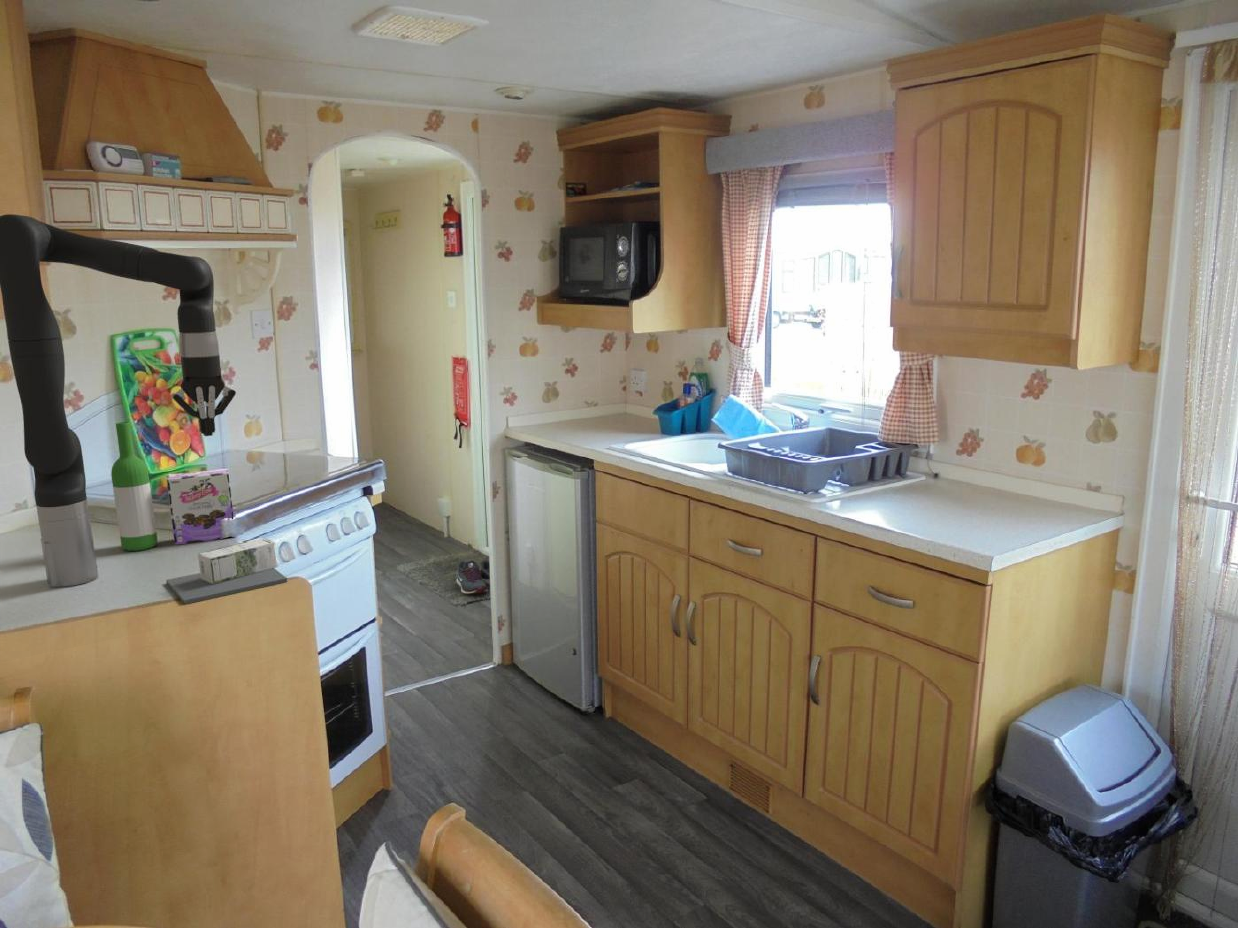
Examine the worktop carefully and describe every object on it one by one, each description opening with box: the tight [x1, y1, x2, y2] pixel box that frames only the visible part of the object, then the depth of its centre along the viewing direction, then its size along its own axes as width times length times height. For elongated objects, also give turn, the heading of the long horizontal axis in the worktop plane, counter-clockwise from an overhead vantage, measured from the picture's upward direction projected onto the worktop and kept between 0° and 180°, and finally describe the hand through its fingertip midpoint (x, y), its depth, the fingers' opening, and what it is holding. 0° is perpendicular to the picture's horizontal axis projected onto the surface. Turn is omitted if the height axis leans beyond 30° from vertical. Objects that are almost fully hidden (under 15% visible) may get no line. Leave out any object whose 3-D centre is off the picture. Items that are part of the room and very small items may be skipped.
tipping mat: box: [166, 567, 288, 605], centre depth 196 cm, size 20×16×1 cm
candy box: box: [166, 468, 235, 546], centre depth 227 cm, size 14×6×16 cm, turn 114°
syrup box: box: [197, 537, 278, 584], centre depth 199 cm, size 6×6×14 cm
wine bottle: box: [110, 421, 158, 552], centre depth 220 cm, size 8×8×30 cm
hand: (208, 435), depth 200 cm, fingers closed
